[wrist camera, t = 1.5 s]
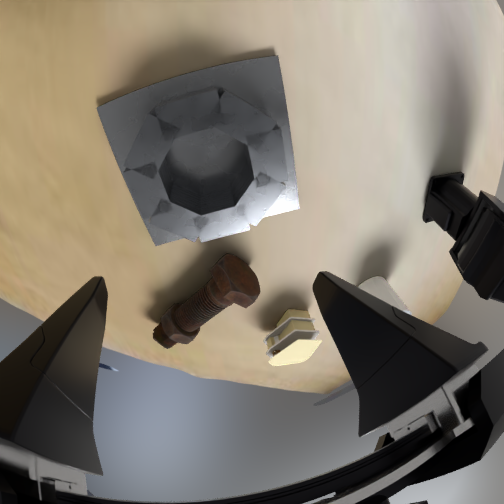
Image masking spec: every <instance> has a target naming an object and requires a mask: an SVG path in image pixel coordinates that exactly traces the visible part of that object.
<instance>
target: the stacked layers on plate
mask: <svg viewBox="0 0 504 504" xmlns="http://www.w3.org/2000/svg"><path fill="white" fill-rule="evenodd" d="M314 321H315V319H313V318H310V315H309V312H308V311H302V310H293V309H288V310H287V311H286V312H285V314H284V315H283V317H282V318H281V319H280V321H279V322H278V323H277V328H276V329H274V330H273V331H272V332H271V333H269V334H268V335H267V336H266V337H265V339H264V340H263V341H264V343H265V344H266V345H267V346H268V351H267V352H266V354H267V355H268V356H269V357H270V358H271V360H270V361H269V363H270V364H271V365H273V366H280V365H288V364H295V363H300V362H303V361H305V360H307V359H308V358H309V357H310V356H311V355H312V354H313V352H314V351H315V350H316V348H317V347H318V346H319V345H320V343H321V342H322V341H323V340H315V338H316V337H317V336H318V334H319V333H320V332H319V331H317V330H315V329H314V326H313V323H314ZM277 350H278V351H277ZM274 351H276V352H274Z"/></svg>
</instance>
